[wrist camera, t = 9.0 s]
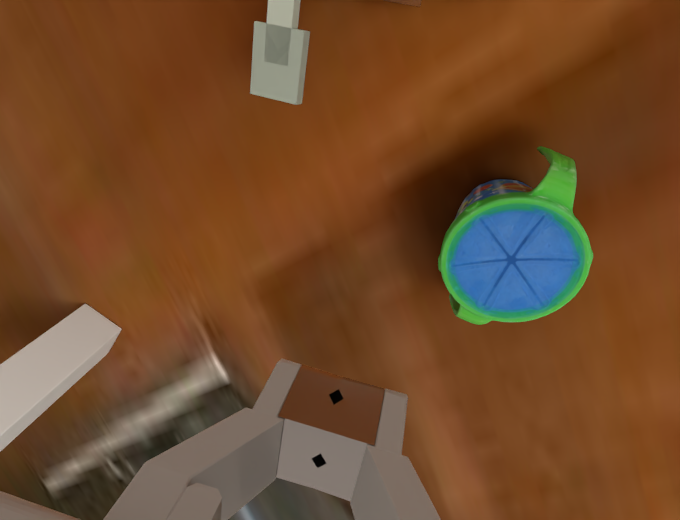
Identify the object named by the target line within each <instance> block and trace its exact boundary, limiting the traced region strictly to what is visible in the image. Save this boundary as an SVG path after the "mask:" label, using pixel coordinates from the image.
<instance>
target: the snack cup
mask: <svg viewBox="0 0 680 520" xmlns="http://www.w3.org/2000/svg"><path fill="white" fill-rule="evenodd" d="M537 150H538V151H539V152H540V153H541V154H542V155H544V156H545V157H546V159H547V160H548V162H549V163H550V167H549V169H548V171H547V174H546V175H545V177H544V178H543V180H542V181H541V182H540V183H539V185H538V186H537V187H536V188H535V189H533V188H531V187H530V186H528V185H526V184H524V183H522V182H519V181H517V180H508V179H498V180H492V181H489V182H487V183H484V184H480V185H479V186H477V187H476V188H474V189H473V190H472V192H471V193H470V194H468V196H467V197H466V198H465V199H464V201H463V202H462V204H461V206H460V208H459V210H458V213H457V215H456V218H455V220H454V221H453V222H452V224H451V226H450V227H449V228H448V230H447V232H446V234H445V237H444V240H443V243H442V247H441V253H440V255H439V257H438V269H439V271H440V272H441V273H442V278H443V281H444V283H445V285H446V287H447V289H448V291H449V292H450V295H449V298H450V303H451V306H452V309H453V312H454V314H455V315H456V316H457V317H459V318H461V319H463V320H465V321H468V322H470V323H473V324H477V325H478V324H479V325H481V324H486V323H488V322H490V321H492V320H495V321H501V322H523V321H529V320H534V319H537V318H540V317H543V316H546V315H548V314H550V313H552V312H554V311H556V310H558V309H560V308H561V307H562V306H564V305H565V304H566V303H567V302H569V301H570V300H571V299H572V298H573V297H574V296H575V295H576V294H577V293H578V291H579V290H580V289H581V287H582V286H583V284H584V282H585V280H586V278H587V276H588V273H589V269H590V265H591V264H592V259H593V251H592V250H591V247H590V242H589V239H588V236H587V234H586V232H585V230H584V228H583V227H582V225H581V223H580V222H579V221H578V219H577V218H576V217H575V216H574V214H573V210H572V208H573V202H574V198H575V191H576V181H577V176H576V167H575V161H574V160H573V159H571V158H569V157H567V156H565V155H562V154H560V153H558V152H555V151H553V150H551V149H548V148H545V147H542V146H540V147H538V148H537Z"/></svg>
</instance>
